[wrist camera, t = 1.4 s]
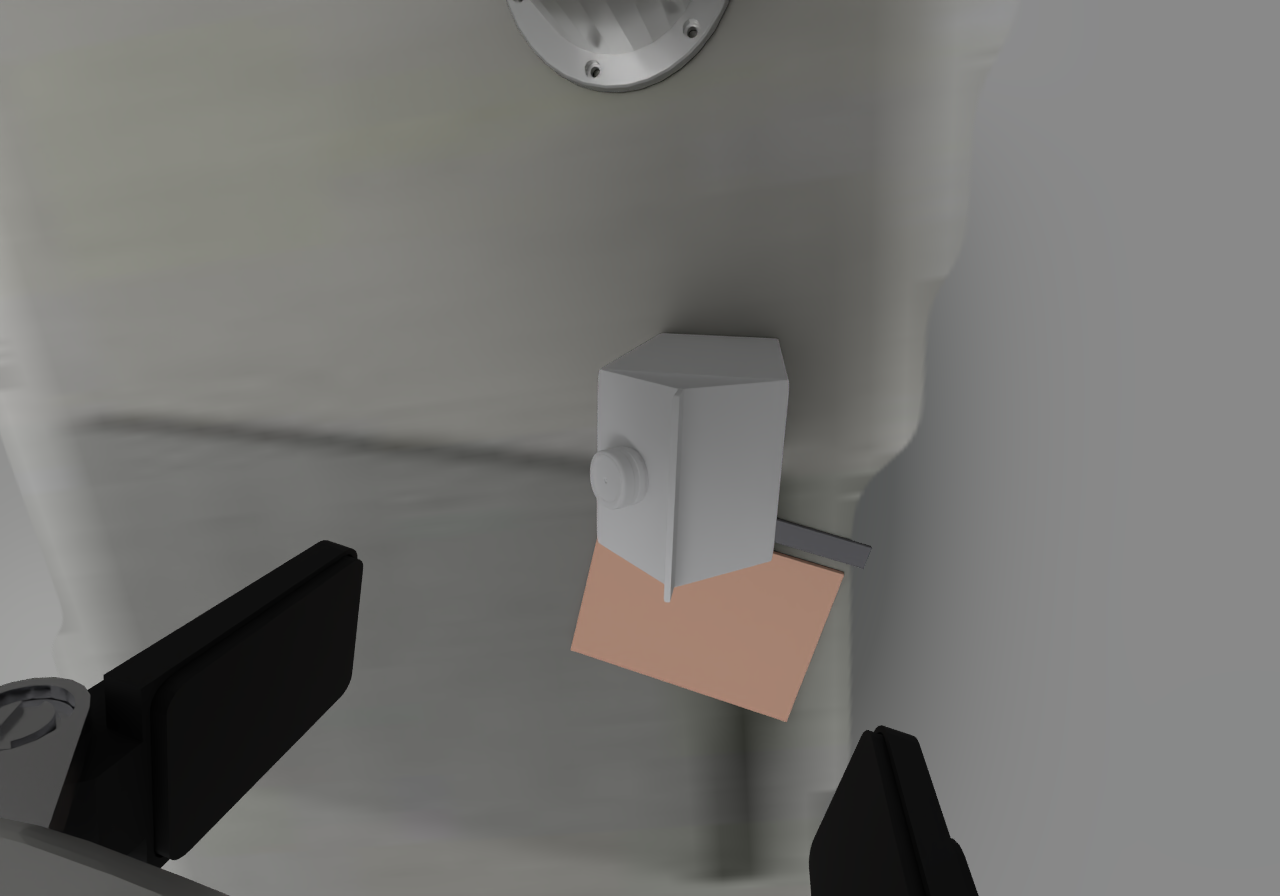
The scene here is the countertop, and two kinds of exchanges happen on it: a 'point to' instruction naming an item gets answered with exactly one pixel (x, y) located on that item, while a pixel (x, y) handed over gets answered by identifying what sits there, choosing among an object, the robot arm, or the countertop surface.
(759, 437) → the milk carton
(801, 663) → the mat
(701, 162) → the countertop surface
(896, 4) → the countertop surface
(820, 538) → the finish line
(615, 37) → the robot arm
